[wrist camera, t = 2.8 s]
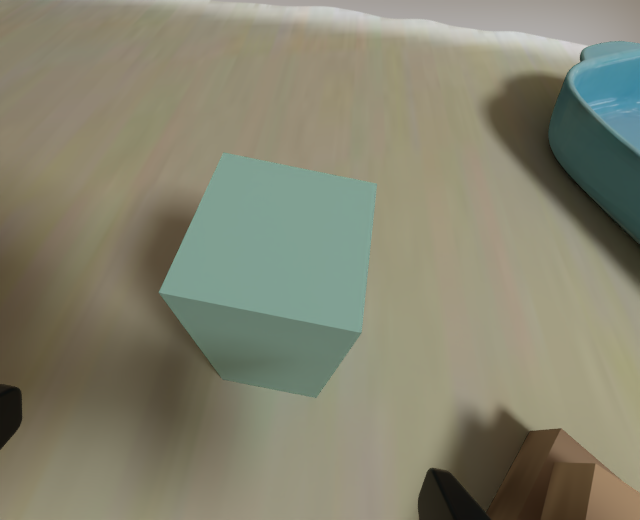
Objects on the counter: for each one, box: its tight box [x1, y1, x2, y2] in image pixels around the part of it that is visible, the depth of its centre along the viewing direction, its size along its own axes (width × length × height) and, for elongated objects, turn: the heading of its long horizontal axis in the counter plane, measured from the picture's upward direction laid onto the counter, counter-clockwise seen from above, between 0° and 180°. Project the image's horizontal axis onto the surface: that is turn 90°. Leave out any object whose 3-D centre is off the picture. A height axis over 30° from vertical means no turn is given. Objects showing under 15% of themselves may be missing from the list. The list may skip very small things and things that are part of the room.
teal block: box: [159, 153, 377, 398], centre depth 15 cm, size 6×6×12 cm
